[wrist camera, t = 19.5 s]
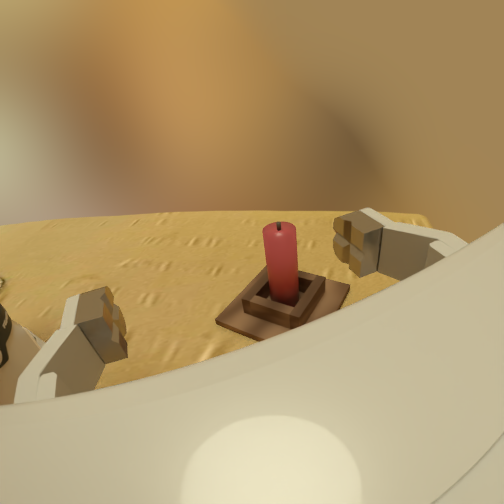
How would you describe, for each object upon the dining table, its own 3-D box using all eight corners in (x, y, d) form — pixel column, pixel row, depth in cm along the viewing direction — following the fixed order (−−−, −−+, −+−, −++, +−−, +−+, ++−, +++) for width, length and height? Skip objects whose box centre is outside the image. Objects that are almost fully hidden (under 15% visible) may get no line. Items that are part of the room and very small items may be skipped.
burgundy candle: (269, 311, 45) (258, 231, 37) (273, 293, 48) (264, 215, 41) (297, 312, 44) (293, 230, 36) (300, 293, 47) (296, 215, 40)
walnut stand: (216, 323, 45) (210, 305, 43) (268, 268, 56) (266, 250, 54) (310, 360, 37) (311, 342, 35) (349, 289, 48) (351, 270, 46)
